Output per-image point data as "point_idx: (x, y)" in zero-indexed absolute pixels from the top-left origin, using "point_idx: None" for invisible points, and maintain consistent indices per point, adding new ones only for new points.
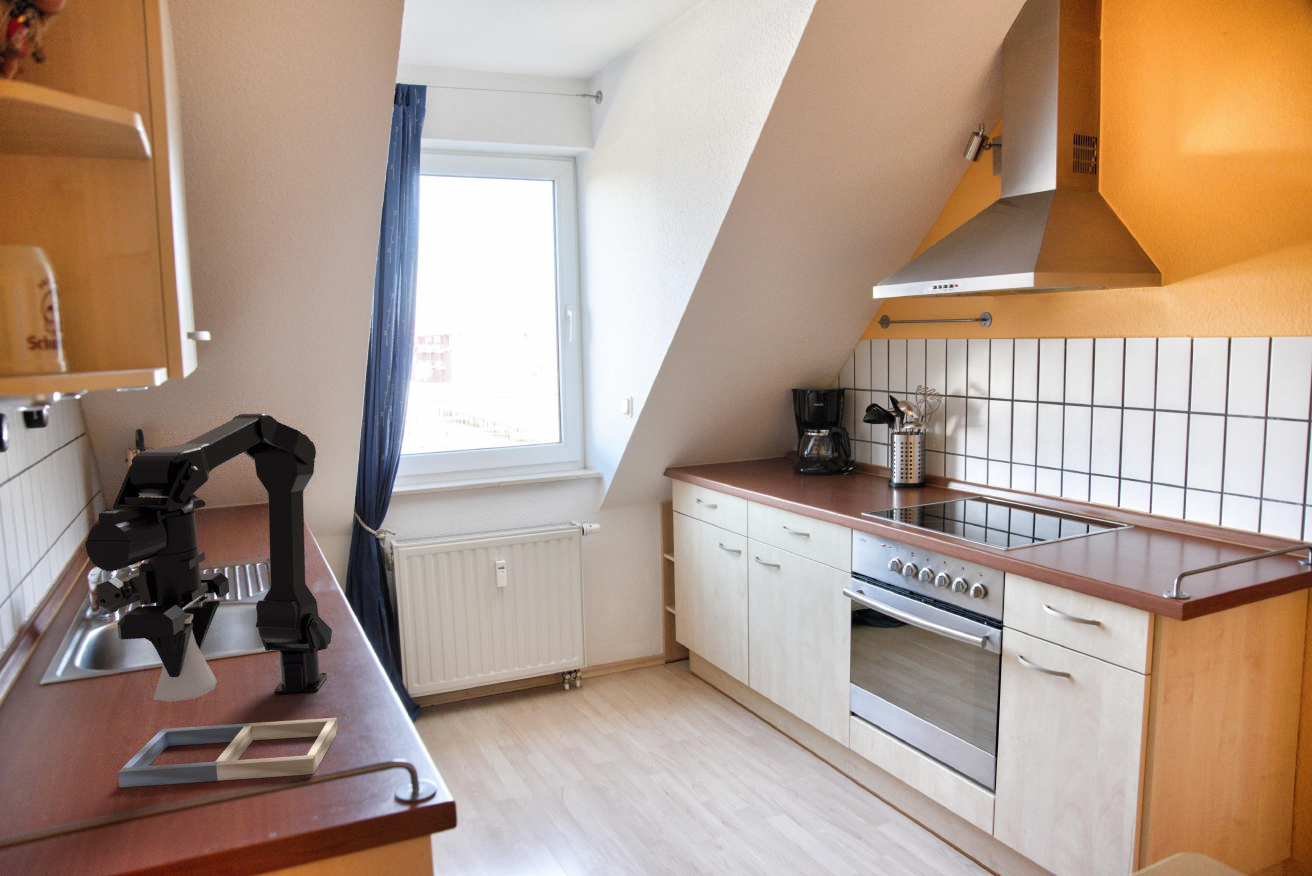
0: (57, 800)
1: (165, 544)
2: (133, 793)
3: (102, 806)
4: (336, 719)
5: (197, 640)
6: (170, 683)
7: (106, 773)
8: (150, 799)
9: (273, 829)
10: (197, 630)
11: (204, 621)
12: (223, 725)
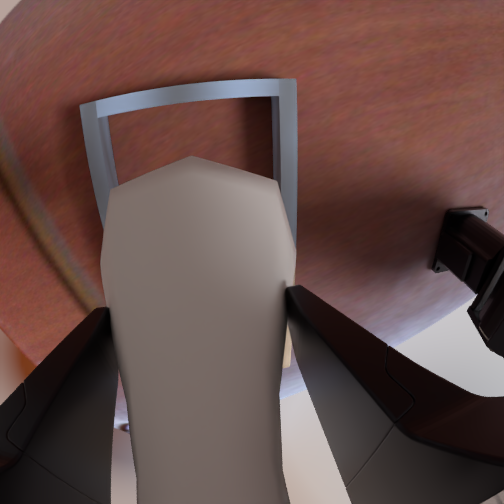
0: (56, 25)
1: None
2: (72, 144)
3: (34, 121)
4: (286, 366)
5: (315, 396)
6: (105, 287)
7: (151, 35)
8: (58, 188)
9: None
10: (337, 439)
11: (349, 488)
12: (294, 211)
